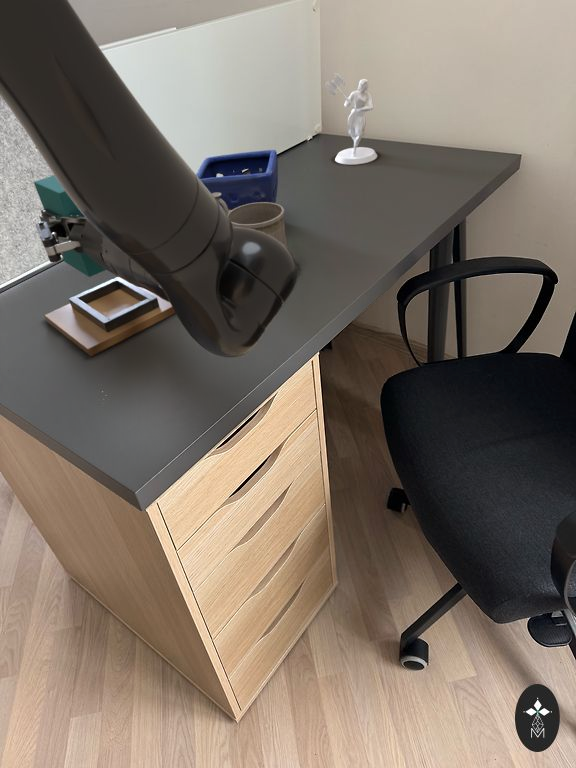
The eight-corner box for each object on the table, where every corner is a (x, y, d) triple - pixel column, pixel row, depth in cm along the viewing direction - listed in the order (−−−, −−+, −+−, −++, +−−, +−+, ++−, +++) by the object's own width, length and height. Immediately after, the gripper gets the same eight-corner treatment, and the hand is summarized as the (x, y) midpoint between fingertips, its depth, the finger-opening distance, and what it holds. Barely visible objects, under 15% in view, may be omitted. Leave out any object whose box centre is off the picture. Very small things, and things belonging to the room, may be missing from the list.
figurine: (329, 164, 126) (323, 74, 115) (338, 151, 133) (333, 64, 122) (373, 164, 123) (372, 71, 112) (380, 150, 130) (379, 61, 119)
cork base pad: (90, 356, 75) (84, 339, 73) (47, 322, 84) (40, 306, 82) (188, 306, 83) (184, 290, 81) (139, 279, 92) (135, 264, 90)
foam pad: (89, 277, 67) (58, 193, 60) (64, 261, 71) (33, 181, 65) (122, 262, 69) (96, 180, 63) (96, 248, 73) (69, 169, 67)
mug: (305, 262, 90) (298, 187, 83) (277, 292, 83) (266, 213, 76) (228, 252, 96) (215, 181, 89) (196, 279, 89) (179, 205, 82)
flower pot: (204, 249, 98) (189, 180, 91) (216, 219, 108) (204, 154, 101) (280, 244, 96) (271, 173, 89) (285, 213, 107) (278, 147, 99)
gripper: (188, 186, 58) (109, 161, 69) (59, 235, 51) (-6, 199, 62) (203, 253, 63) (127, 220, 74) (86, 306, 56) (21, 261, 67)
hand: (66, 210), depth 68 cm, fingers closed on foam pad, 4 cm apart
